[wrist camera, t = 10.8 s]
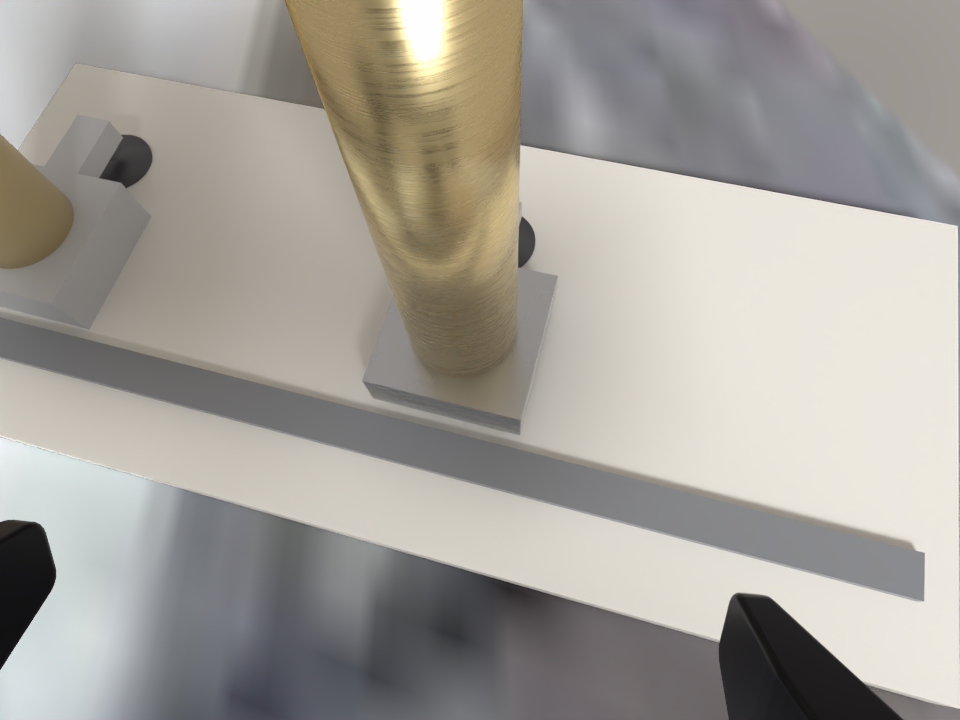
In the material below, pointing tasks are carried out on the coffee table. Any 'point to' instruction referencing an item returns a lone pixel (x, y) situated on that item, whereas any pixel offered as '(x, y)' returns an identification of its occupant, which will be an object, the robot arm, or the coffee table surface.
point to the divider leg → (437, 194)
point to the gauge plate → (557, 385)
